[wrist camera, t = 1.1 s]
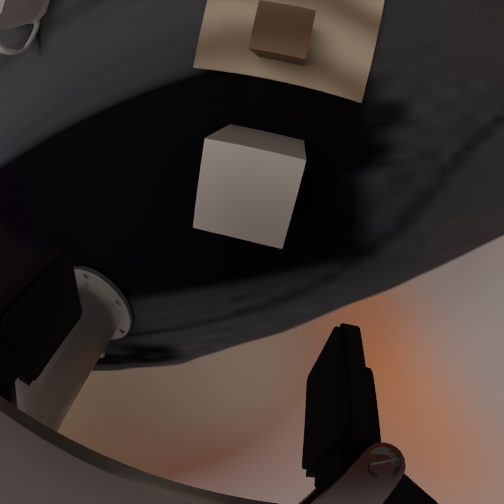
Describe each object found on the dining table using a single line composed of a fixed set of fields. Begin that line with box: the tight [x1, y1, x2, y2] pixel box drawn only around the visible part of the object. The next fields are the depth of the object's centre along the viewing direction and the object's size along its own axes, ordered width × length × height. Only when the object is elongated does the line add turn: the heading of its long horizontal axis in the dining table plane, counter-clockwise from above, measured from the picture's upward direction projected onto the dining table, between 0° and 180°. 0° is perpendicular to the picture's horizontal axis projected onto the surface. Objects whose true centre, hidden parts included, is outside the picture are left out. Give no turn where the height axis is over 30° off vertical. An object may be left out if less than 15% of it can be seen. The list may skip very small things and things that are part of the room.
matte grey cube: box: [193, 125, 306, 249], centre depth 24 cm, size 7×7×8 cm
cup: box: [0, 0, 50, 55], centre depth 17 cm, size 7×10×8 cm
